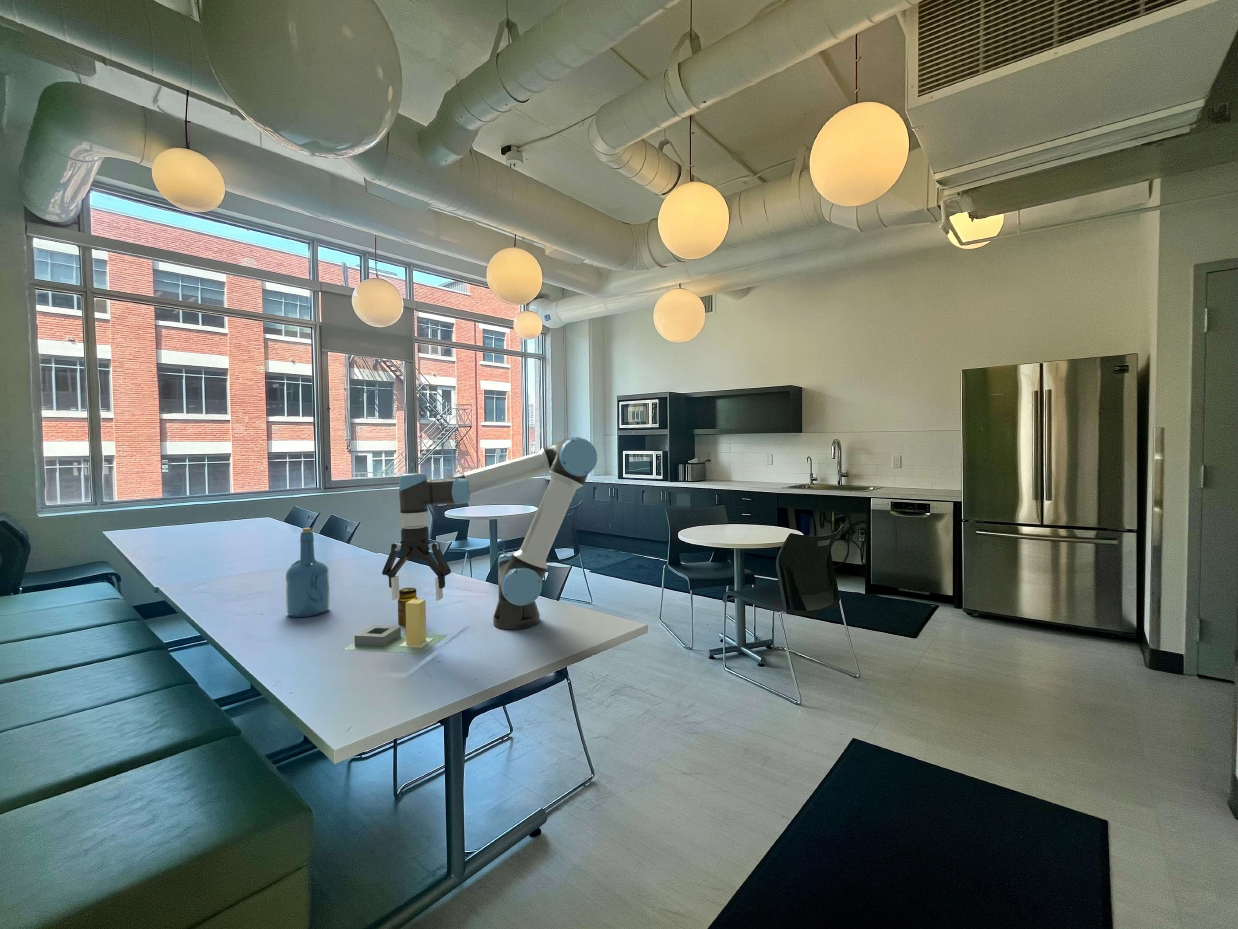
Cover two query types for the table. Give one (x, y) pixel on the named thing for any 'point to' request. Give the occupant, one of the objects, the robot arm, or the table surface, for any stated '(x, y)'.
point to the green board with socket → (390, 640)
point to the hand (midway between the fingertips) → (417, 599)
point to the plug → (415, 622)
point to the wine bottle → (307, 582)
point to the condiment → (404, 603)
